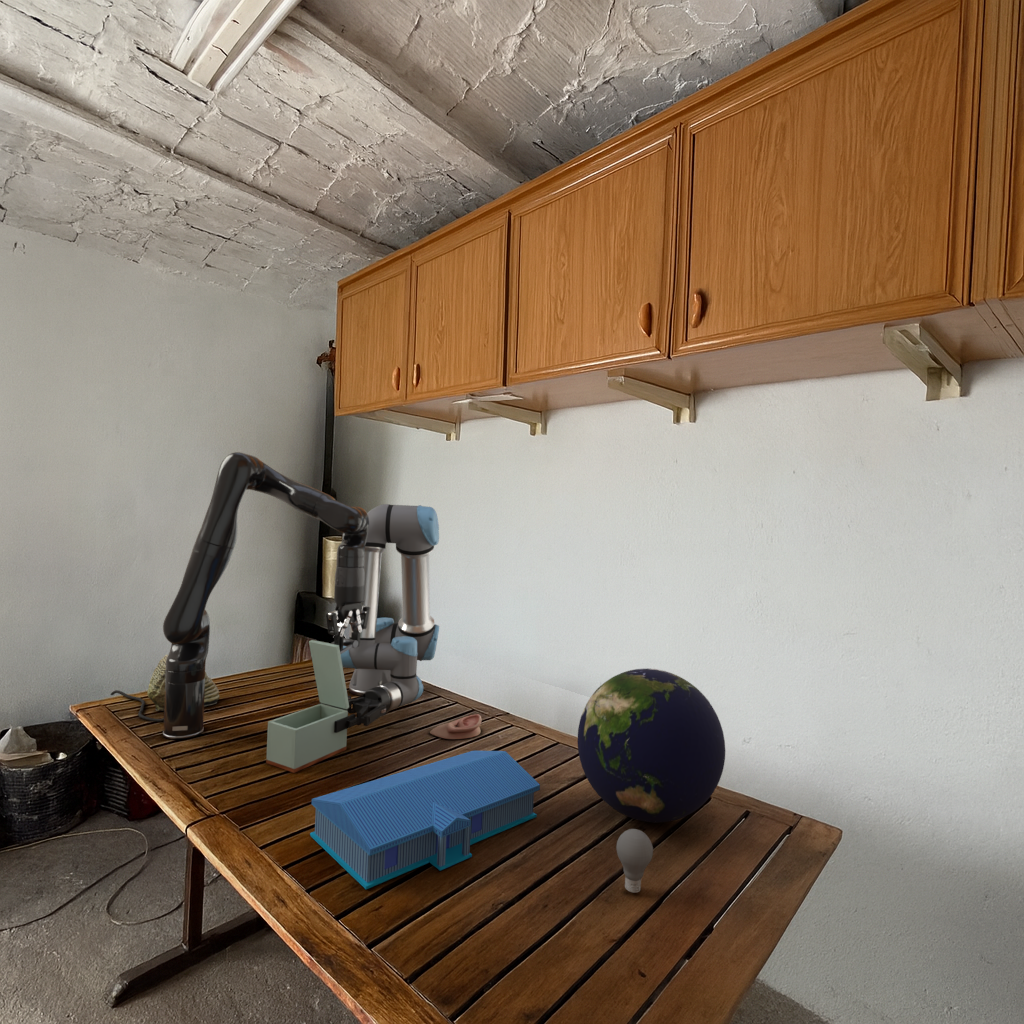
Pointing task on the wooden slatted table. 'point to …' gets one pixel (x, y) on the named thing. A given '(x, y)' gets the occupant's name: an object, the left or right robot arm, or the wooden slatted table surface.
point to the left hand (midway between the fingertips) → (347, 648)
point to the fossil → (158, 687)
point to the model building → (423, 815)
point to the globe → (651, 745)
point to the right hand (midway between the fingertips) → (320, 722)
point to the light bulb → (634, 857)
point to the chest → (305, 737)
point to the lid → (330, 671)
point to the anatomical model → (459, 728)
